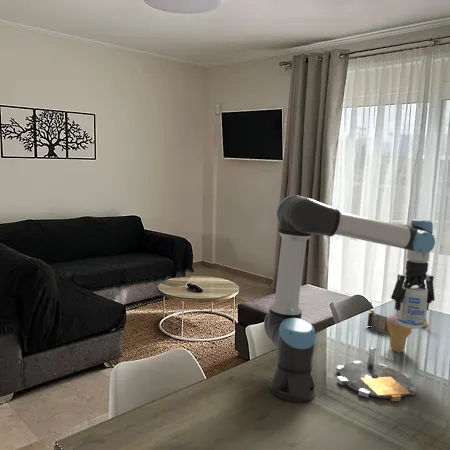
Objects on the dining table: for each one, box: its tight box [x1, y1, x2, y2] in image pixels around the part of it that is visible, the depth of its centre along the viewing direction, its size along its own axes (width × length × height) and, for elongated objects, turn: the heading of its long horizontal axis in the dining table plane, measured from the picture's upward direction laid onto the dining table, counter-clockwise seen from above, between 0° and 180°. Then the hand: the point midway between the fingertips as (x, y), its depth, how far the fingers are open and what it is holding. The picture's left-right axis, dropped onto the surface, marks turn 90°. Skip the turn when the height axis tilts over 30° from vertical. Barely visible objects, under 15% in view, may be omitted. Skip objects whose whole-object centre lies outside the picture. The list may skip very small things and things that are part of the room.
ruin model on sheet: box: [366, 309, 390, 336], centre depth 216 cm, size 11×3×10 cm, turn 41°
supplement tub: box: [397, 285, 428, 330], centre depth 172 cm, size 10×10×15 cm
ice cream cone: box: [386, 313, 413, 353], centre depth 193 cm, size 11×11×20 cm
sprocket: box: [335, 347, 417, 402], centre depth 162 cm, size 27×27×9 cm
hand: (410, 318), depth 173 cm, fingers closed on supplement tub, 10 cm apart
